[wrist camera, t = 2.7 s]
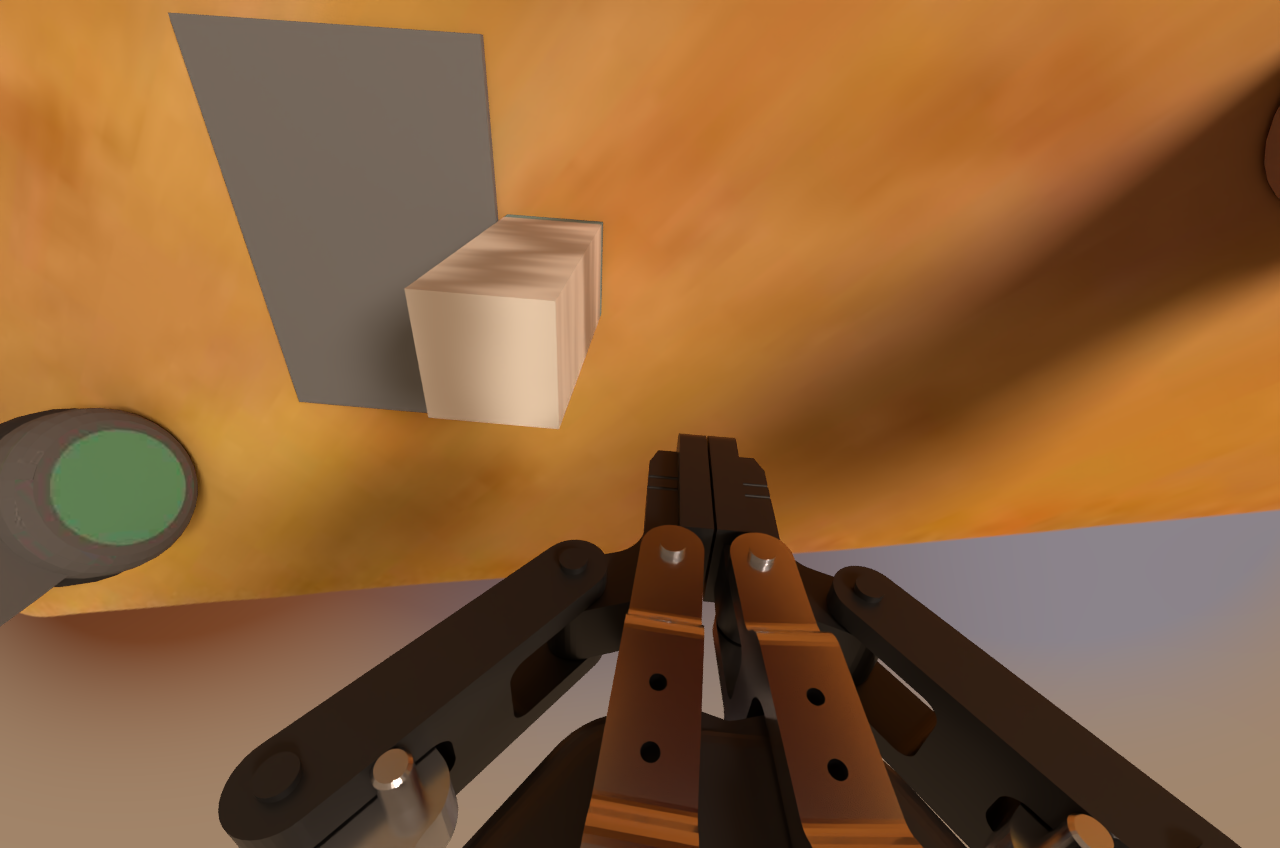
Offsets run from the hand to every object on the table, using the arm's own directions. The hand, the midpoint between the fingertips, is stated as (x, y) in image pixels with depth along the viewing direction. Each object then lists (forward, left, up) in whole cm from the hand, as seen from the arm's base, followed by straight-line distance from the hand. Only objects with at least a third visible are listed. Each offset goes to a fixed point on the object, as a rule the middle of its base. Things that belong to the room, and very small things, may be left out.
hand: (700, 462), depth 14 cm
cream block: (+7, 0, -17) cm, 18 cm away
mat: (+17, 0, -17) cm, 24 cm away
